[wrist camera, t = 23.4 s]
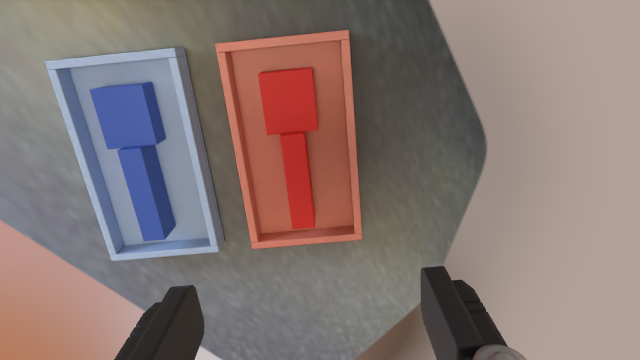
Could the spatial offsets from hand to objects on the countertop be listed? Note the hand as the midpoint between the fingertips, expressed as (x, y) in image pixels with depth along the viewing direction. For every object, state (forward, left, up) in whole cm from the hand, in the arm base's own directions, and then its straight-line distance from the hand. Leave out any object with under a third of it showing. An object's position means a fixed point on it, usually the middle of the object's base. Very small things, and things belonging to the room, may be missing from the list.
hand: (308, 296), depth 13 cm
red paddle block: (-1, -1, -18) cm, 18 cm away
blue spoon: (-1, -13, -18) cm, 22 cm away
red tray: (-1, -1, -18) cm, 18 cm away
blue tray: (-1, -13, -18) cm, 23 cm away
